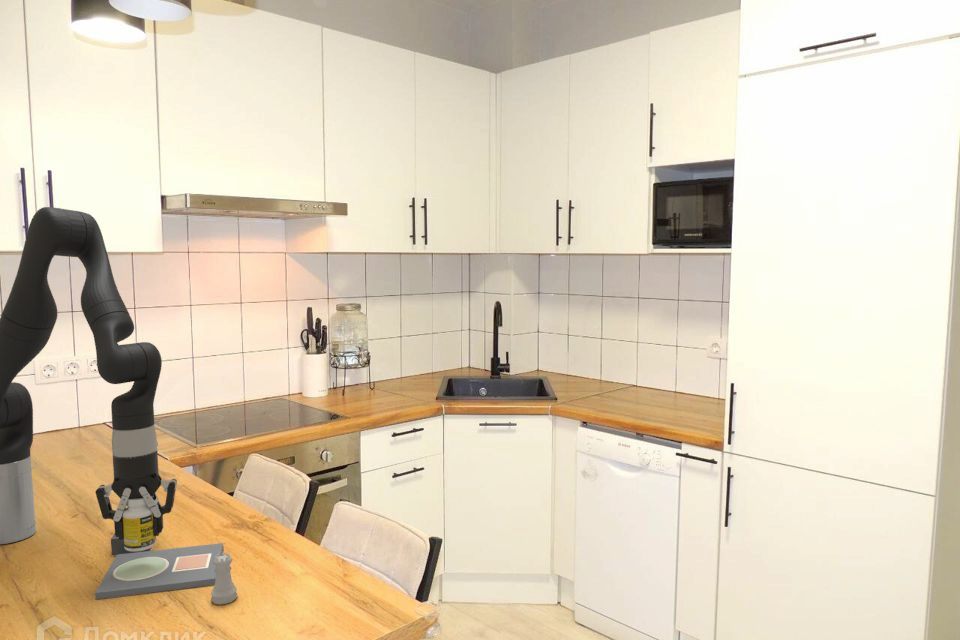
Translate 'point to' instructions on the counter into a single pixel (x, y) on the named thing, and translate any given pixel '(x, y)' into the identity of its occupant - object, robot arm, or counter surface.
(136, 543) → the supplement bottle
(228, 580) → the rook chess piece
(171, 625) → the counter surface
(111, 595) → the picture board
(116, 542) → the button housing
